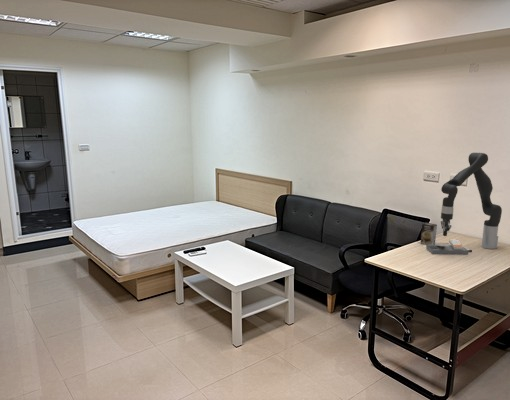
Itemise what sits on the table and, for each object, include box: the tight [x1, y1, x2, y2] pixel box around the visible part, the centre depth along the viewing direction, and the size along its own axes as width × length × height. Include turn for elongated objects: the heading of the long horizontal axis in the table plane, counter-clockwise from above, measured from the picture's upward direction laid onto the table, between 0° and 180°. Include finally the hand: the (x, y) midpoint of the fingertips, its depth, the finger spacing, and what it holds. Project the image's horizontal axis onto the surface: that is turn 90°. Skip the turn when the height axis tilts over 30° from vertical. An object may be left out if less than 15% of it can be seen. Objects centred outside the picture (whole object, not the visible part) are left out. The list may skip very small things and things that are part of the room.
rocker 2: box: [448, 239, 464, 249], centre depth 281 cm, size 6×10×2 cm, turn 176°
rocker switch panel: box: [425, 244, 473, 256], centre depth 282 cm, size 30×12×4 cm, turn 86°
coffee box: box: [420, 222, 438, 246], centre depth 299 cm, size 9×6×16 cm
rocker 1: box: [435, 241, 450, 246], centre depth 282 cm, size 6×10×2 cm, turn 176°
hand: (444, 235), depth 276 cm, fingers closed
